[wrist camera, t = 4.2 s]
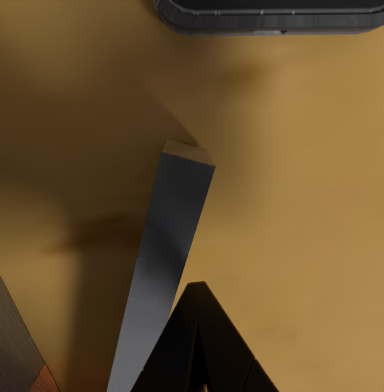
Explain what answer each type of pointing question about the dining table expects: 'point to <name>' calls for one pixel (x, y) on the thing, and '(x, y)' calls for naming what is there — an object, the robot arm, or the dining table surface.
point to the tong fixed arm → (19, 353)
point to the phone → (270, 17)
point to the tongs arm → (161, 256)
